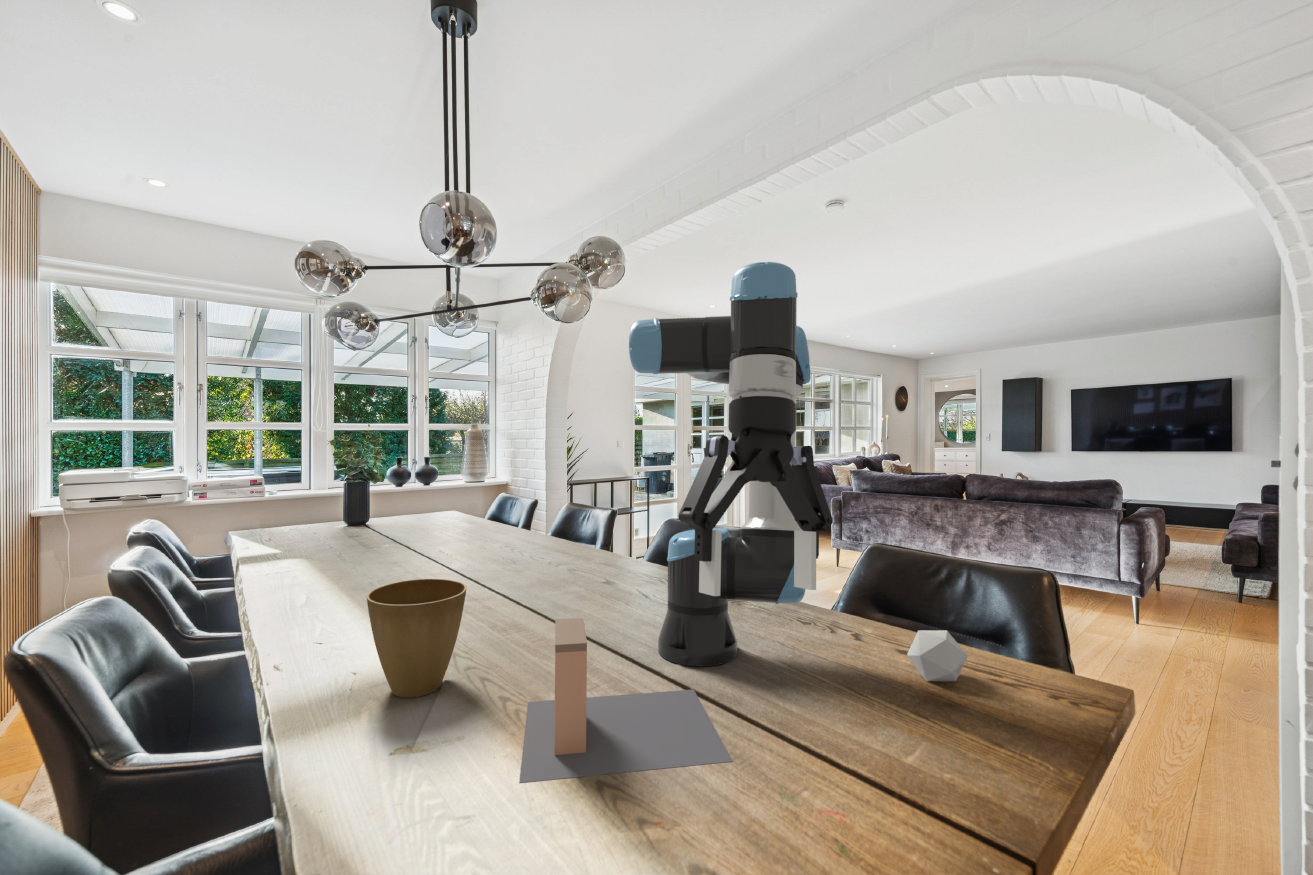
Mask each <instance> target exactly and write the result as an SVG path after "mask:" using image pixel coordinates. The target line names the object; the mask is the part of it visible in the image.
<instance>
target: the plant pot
mask: <svg viewBox="0 0 1313 875" xmlns="http://www.w3.org/2000/svg"><path fill="white" fill-rule="evenodd" d="M466 594H467V584H465V583H463V582H461V581H457V580H453V579H446V578H418V579H417V578H415V579H406V580H401V581H395V582H392V583H387V584H384V585H381V586H378V587H376V588H374V589H371V590H370V591H369V592H368V593H367V594H366V603H367V610H368V615H369V621H370V622H369V623H370V627H371V631H372V637H373V641H374V645H375V648H376V653H377V656H378V660H379V662H380V665H381V668H382V671H383V674H384V676H385V679H386V681H387V685H388V686H389V688H390V690H391V692H392V694H393V695H395V696H396V697H398V698H408V699H409V698H417V697H423V696H425V695H429V694H431V693H434V692H436V691H437V690H438V689H440V687H441V685H442V683H443V681H444V677H445V675H446V673H447V670H448V667H449V665H450V661H451V659H452V655H453V652H454V649H455V647H456V642H457V639H458V636H459V630H460V627H461V623H462V617H463V612H464V608H465V601H466Z"/></svg>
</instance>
